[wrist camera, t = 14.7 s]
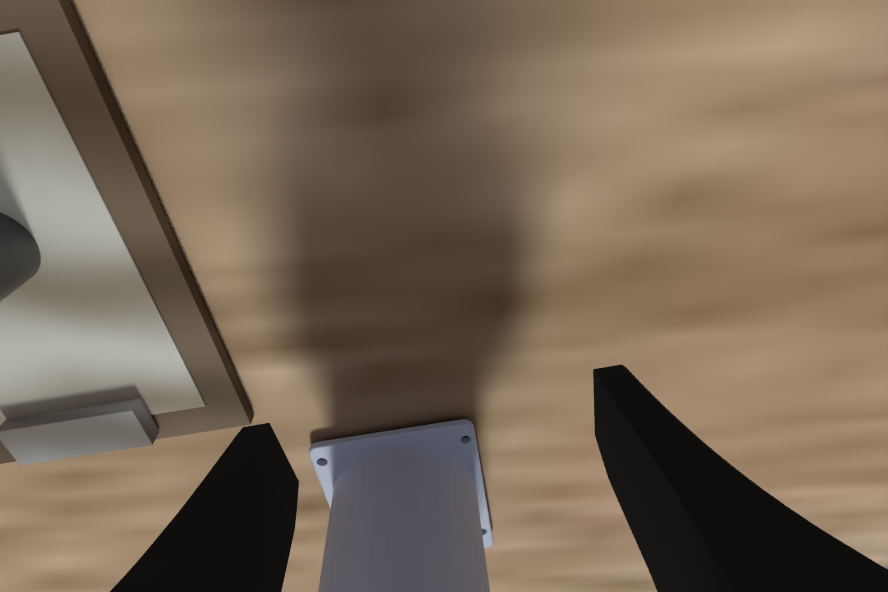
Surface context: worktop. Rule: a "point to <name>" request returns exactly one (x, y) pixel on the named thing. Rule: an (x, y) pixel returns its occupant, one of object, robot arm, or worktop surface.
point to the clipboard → (92, 267)
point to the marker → (16, 256)
